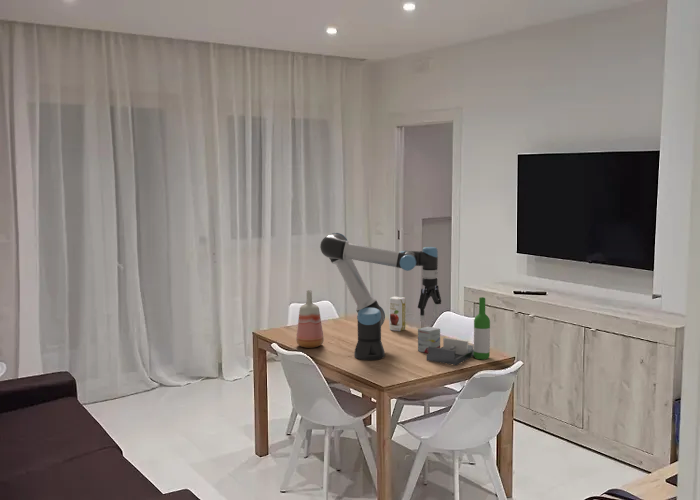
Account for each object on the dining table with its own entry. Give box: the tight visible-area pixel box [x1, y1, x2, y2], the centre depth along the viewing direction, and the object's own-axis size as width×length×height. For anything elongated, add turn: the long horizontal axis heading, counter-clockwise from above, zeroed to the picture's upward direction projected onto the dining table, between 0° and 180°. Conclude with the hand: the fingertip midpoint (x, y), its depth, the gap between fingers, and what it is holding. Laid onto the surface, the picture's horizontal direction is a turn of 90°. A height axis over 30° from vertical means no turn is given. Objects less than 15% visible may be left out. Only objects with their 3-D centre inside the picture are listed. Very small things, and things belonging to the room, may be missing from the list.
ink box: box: [417, 325, 441, 354], centre depth 339 cm, size 9×9×12 cm
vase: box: [295, 290, 325, 349], centre depth 349 cm, size 14×14×30 cm
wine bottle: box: [473, 296, 491, 361], centre depth 324 cm, size 8×8×30 cm
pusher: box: [442, 337, 469, 355], centre depth 328 cm, size 13×6×7 cm, turn 55°
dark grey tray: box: [426, 344, 474, 366], centre depth 326 cm, size 16×21×7 cm
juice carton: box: [388, 295, 407, 332], centre depth 384 cm, size 8×9×19 cm
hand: (429, 319), depth 337 cm, fingers open, 13 cm apart
